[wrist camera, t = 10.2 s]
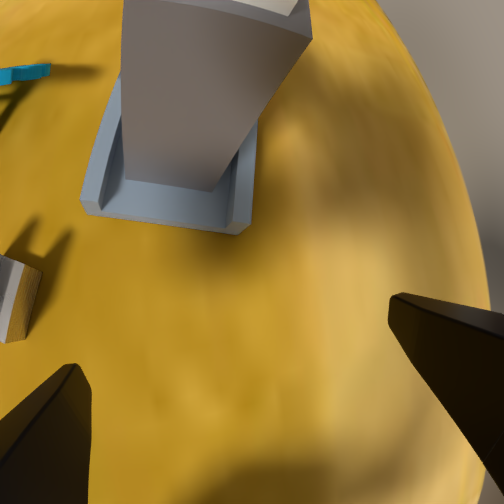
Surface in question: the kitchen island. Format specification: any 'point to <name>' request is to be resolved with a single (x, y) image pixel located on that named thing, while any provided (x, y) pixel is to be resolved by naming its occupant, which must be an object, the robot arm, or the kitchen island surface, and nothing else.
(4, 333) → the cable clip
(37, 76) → the blue coral
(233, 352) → the kitchen island surface
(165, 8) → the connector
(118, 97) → the holder
